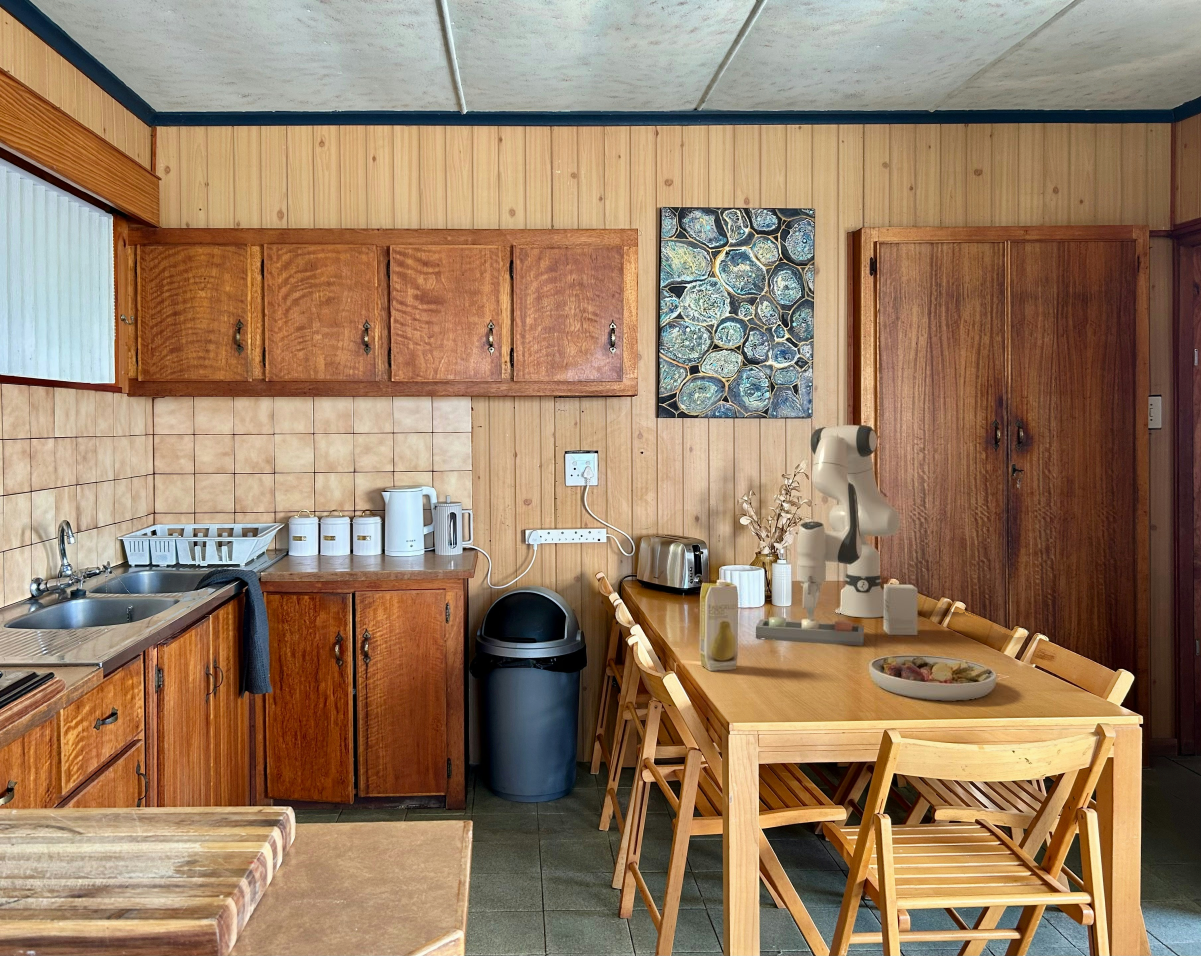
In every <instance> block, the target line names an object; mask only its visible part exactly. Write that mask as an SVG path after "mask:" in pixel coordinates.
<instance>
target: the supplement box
mask: <svg viewBox="0 0 1201 956" xmlns="http://www.w3.org/2000/svg"><path fill="white" fill-rule="evenodd" d="M883 591H884V616H883V630H884V631H885V632H886V633H887V634H888V635H891V636H917V635H918V601H919V600H918V597H919V596H918V591H919V589H918V587H915V586H914V585H912V584H894V583H893V584H891V583H890V584H889V583H888V584H886V583H884V584H883Z"/></svg>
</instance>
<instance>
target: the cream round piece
mask: <svg viewBox="0 0 1201 956" xmlns="http://www.w3.org/2000/svg"><path fill="white" fill-rule="evenodd" d="M801 622H802V628H804V629H819V623H820V621H819V620H818V619H817V618H816V619H815V618H813V620H808V618H803V619H801Z"/></svg>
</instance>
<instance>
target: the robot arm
mask: <svg viewBox="0 0 1201 956" xmlns="http://www.w3.org/2000/svg"><path fill="white" fill-rule="evenodd" d="M877 438H878V437H877V433H876V431H875V430H874V428H873V427H871V426H869V425H863V424H861V425H855V424H844V425H843V424H842V425H837V426H835V425H834V426H829V427H825V426H824V427H819V428H817V429H815V430H814V431H813V432H812V434H811V436H810V448H811V452H812V454H813V455H814V456H813V457H814V458H813V462H812V470H811V482H812V485H813V486H814V488H815V489H816V490H817V491H818V492H819V493H821V494H822V495H824V496H825V497H828V498H831V499H833V500H835V501H837V502H839V503H840V504H835V505H834V506H833V507H832V508H831V510H830V511H829V515H828V522H829V525H830V527H831V529H832V530H833V531H832V530H831V531H830V530H828V531H827V530H826V529H825V524H824V523H823V522H819V521H812V520H811V521H805V522H803V523H801V524H800V525H799V527H798V531H797V541H796V553H797V561H796V580H797V581H799V582H800V586H802V609H804V610H806V614H807V616H806V617H807V618H806V619H808V620H813V619H815V608H816V606H817V604H818V600H819V598H820V590H821V587H822V583H823V582H826V580H827V579H826V578H827V577H826V576H827V575H826V573H827V563H826V562H831V563H840V564H844V565H846V573H845V578H844V579H845V586H844V587H842V589H841V591H840V606H839V607H837V608H835V610H834V613H835V612H836V613H835V614H840V613H841V615H844V616H848V617H857V618H881V617H884V589H883V588H882V587H881V585H882V577H881V574H880V569H881V568H880V564H881V562H880V561H881V557H880V556H881V555H880V553H879V551H878V549H877V548H875V547H873V546H872V545H871V544H870V543H869V542H868V541H867V537H866V536H871V537H880V538H881V537H889V536H894V535H895V534H896V533H897V532H898V531H899V529H900V527H901V524H902V518H901V515H900V512H899V511H898V510H897V509H896V508H895V507H893V506H892V505H891V504H890V503H888V502H887V501H886V499H885V498H884V497H883V495H882V494H881V492H880V490H879V488H878V485H877V481H876V475H875V471H874V464H873V463H874V462H873V458H872V454H874V452H875V451H876V449H877V446H878V445H877V444H878V439H877Z"/></svg>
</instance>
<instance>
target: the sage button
mask: <svg viewBox="0 0 1201 956" xmlns="http://www.w3.org/2000/svg"><path fill="white" fill-rule="evenodd" d="M768 620H769V626H771V627H786V621H787V618H786V617H782V616H771V617H769V618H768Z"/></svg>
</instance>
